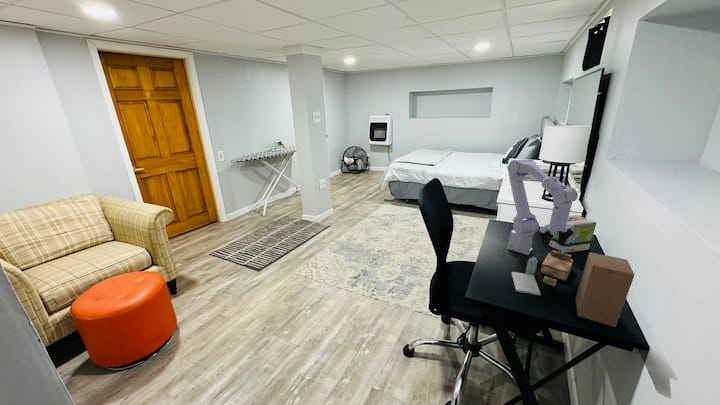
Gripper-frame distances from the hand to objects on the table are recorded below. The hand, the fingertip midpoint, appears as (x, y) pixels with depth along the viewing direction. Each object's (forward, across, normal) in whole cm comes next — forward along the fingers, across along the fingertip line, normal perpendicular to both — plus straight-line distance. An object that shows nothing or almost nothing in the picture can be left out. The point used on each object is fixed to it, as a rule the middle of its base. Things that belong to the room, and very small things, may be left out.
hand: (552, 245), depth 121 cm
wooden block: (+10, -8, -28) cm, 31 cm away
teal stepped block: (+10, -11, -3) cm, 15 cm away
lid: (+6, 0, -4) cm, 7 cm away
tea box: (+10, +22, +12) cm, 28 cm away
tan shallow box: (+10, -2, -6) cm, 12 cm away
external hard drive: (+11, -19, -9) cm, 24 cm away
